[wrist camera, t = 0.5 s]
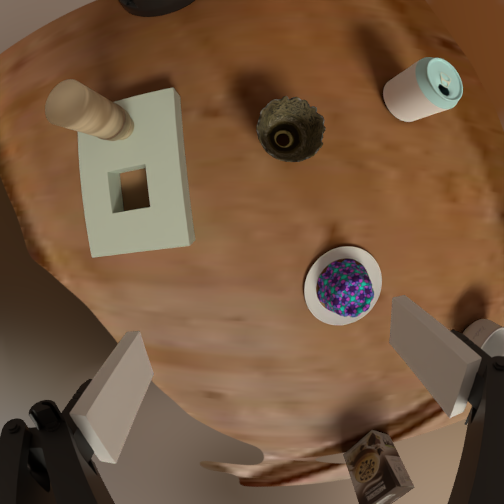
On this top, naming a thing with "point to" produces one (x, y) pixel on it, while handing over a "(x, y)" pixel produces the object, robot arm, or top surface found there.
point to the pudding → (343, 286)
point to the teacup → (487, 336)
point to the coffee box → (377, 470)
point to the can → (423, 90)
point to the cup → (290, 129)
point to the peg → (87, 112)
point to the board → (158, 178)
